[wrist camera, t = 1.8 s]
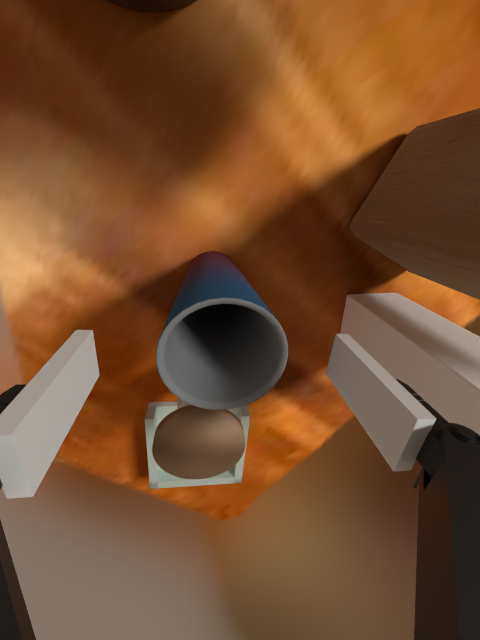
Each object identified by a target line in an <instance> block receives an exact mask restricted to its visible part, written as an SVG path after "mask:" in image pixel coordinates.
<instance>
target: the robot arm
mask: <svg viewBox="0 0 480 640" xmlns="http://www.w3.org/2000/svg"><path fill="white" fill-rule="evenodd" d="M108 1H110V2H112V3H115V4H117V5H119V6H122V7H125V8H129V9H133V10H137V11H145V12H161V11H167V10H172V9H176V8H179V7H181V6H184V5H186V4H188V3H190V2H192V1H194V0H108ZM326 374H327V376H328V377H329V379H330V380H331V382H332V383H333V385H334V386H335V387H336V389H337V390H338V392H339V393H340V395H341V396H342V398H343V399H344V400H345V402H346V403H347V405H348V406H349V408H350V409H351V411H352V412H353V413H354V415H355V416H356V417H357V419H358V421H359V422H360V424H361V425H362V426H363V428H364V429H365V431H366V432H367V434H368V435H369V436H370V438H371V439H372V441H373V442H374V444H375V445H376V446H377V448H378V449H379V451H380V452H381V454H382V455H383V456H384V458H385V460H386V461H387V462H388V464H389V465H390V467H391V468H392V470H393V471H407V470H411V469H412V467H413V465H414V463H415V461H416V460H417V461H418V462H419V463H420V465H421V466H422V469H421V472H420V473H419V475H418V477H417V479H416V481H415V483H414V485H413V487H414V488H416V487H417V485H419V505H418V537H417V539H418V540H417V568H416V569H417V570H416V599H415V630H414V640H480V435H479V434H477V433H476V432H474V431H473V430H471V429H469V428H467V427H465V426H463V425H460V424H456V423H449V422H448V421H447V420H445V419H444V418H443V417H442V416H441V415H440V414H439V413H438V412H437V411H436V410H435V409H434V408H432V407H431V406H430V405H429V404H428V403H427V402H426V401H424V399H423V398H422V397H421V396H420V395H417V393H416V392H415V391H414V390H413V389H412V388H411V387H410V386H409V385H407V384H405V383H404V382H402V381H400V380H399V379H395V378H394V377H392V376H391V375H390V374H389V373H388V372H387V371H386V370H385V369H384V368H383V367H382V366H381V365H380V364H379V363H378V362H377V361H376V360H375V359H374V358H373V357H372V356H371V355H370V354H368V353H367V352H366V351H365V350H364V349H363V348H362V347H361V346H360V345H359V344H358V343H357V342H356V341H355V340H354V339H353V338H352V337H351V336H350V335H349V334H336V335H335V339H334V343H333V347H332V351H331V355H330V359H329V362H328V366H327V370H326ZM98 377H99V368H98V361H97V355H96V348H95V342H94V335H93V330H76V331H75V332H74V333H73V334H72V335H71V336H70V337H69V338H68V340H67V341H66V342H65V343H64V344H63V345H62V346H61V347H60V348H59V350H58V351H57V352H56V353H55V354H54V355H53V356H52V357H51V358H50V360H49V361H48V362H47V363H46V364H45V365H44V366H43V367H42V369H41V370H40V371H39V372H38V373H37V374H36V375H35V376H34V377H33V379H32V380H31V381H30V382H29V383H28V384H27V385H15V386H14V387H12V388H10V389H9V390H7V391H5V392H4V393H2V394H1V395H0V489H1V487H2V488H3V491H4V493H5V495H6V498H21V497H33V496H34V494H35V492H36V490H37V488H38V486H39V484H40V483H41V481H42V479H43V477H44V475H45V474H46V472H47V470H48V468H49V466H50V465H51V463H52V461H53V459H54V457H55V456H56V454H57V452H58V450H59V448H60V446H61V445H62V443H63V441H64V439H65V437H66V435H67V434H68V432H69V430H70V428H71V426H72V425H73V423H74V421H75V419H76V417H77V415H78V414H79V412H80V410H81V408H82V406H83V404H84V403H85V401H86V399H87V397H88V395H89V394H90V392H91V390H92V388H93V386H94V384H95V383H96V381H97V379H98ZM0 640H36V638H35V635H34V631H33V628H32V625H31V621H30V618H29V615H28V611H27V608H26V605H25V601H24V598H23V595H22V591H21V588H20V584H19V581H18V578H17V575H16V571H15V568H14V564H13V561H12V557H11V554H10V551H9V548H8V544H7V541H6V537H5V534H4V531H3V527H2V524H1V521H0Z"/></svg>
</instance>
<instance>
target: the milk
mask: <svg viewBox="0 0 480 640" xmlns="http://www.w3.org/2000/svg"><path fill="white" fill-rule="evenodd" d="M340 334H349V335H350V336H351V337H352V338H353V339H354V340H355V341H356V342H357V343H358V344H359V345H360V346H361V347H362V348H363V349H364V350H365V351H366V352H367V353H368V354H370V355H371V356H372V357H373V358H374V359H375V360H376V361H377V362H378V363H379V364H380V365H381V366H382V367H383V368H384V369H385V370H386V371H387V372H388V373H389V374H390V375H391V376H392V377H394V378H395V379H399V380H400V381H402V382H404V383H405V384H407V385H409V386H410V387H411V388H412V389H413V390H414V391H415V392H416V393H417V395H420V396H421V397H422V398H423V399H424V401H426V402H427V403H428V404H429V405H430V406H431V407H432V408H434V409H435V410H436V411H437V412H438V413H439V414H440V415H441V416H442V417H443V418H444V419H445V420H447V421H448V422H449V423H456V424H460V425H463V426H465V427H467V428H469V429H471V430H473V431H474V432H476V433H477V434H479V435H480V337H479V336H477V335H475V334H473V333H471V332H470V331H467V330H466V329H464V328H462V327H460V326H458V325H456V324H454V323H453V322H451V321H449V320H447V319H445V318H443V317H441V316H439V315H437V314H436V313H434V312H432V311H430V310H428V309H426V308H424V307H422V306H421V305H419V304H417V303H415V302H413V301H411V300H409V299H407V298H405V297H404V296H402V295H400V294H398V293H375V294H349V295H347V298H346V303H345V308H344V314H343V319H342V324H341V330H340Z"/></svg>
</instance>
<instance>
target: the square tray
mask: <svg viewBox="0 0 480 640" xmlns="http://www.w3.org/2000/svg"><path fill="white" fill-rule="evenodd" d="M177 406H178V401H177V402H149V404H148V408H147V412H146V416H145V431H146V443H147V456H148V469H149V481H150V489H154V488H169V487H184V486H198V485H213V484H228V483H241V480H242V472H243V465H244V458H245V450H246V443H247V435H248V428H249V420H250V414H249V409H248V405H244V406H241V407H238V408H233V409H227V410H229V411H230V412H232V413H233V414H234V415H235V416H236V417H237V418H238V419H239V420H240V422H241V424H242V426H243V431H244V436H245V450H244V453H243V455H242V457H241V459H240V460H239V461H238V462H237V463H236V464H235V465H234V466H233V467H232V468H231V469H229V470H227V471H226V472H224V473H222V474H220V475H217V476H214V477H210V478H205V479H184V478H179V477H176V476H173V475H171V474H169V473H167V472H165V471H164V470H163V469H161V468H160V467H159V466H158V464H157V463H156V462H155V460H154V457H153V454H152V445H153V440H154V435H155V431H156V428H157V426H158V425H159V423H160V422H161V421H162V420H163V419H164V418H165V417H166V416H167V415H168V414H170V413H171V412H173V411H175V410H177Z"/></svg>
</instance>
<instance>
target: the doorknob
mask: <svg viewBox="0 0 480 640" xmlns="http://www.w3.org/2000/svg"><path fill="white" fill-rule="evenodd" d="M244 450H245V436H244V431H243V426H242V424H241V422H240V420H239V419H238V418H237V417H236V416H235V415H234V414H233V413H232V412H230V411H229V410H210V409H204V408H199V407H196V406H193V405H190V404H188V403H186V402H184V401H182V400H181V399H179V398H178V406H177V410H175V411H173V412H171V413H170V414H168V415H167V416H166V417H165V418H164V419H163V420H162V421H161V422H160V423H159V425H158V426H157V428H156V431H155V435H154V440H153V445H152V454H153V457H154V460H155V462H156V463H157V464H158V466H159V467H160V468H161V469H163V470H164V471H165V472H167V473H169V474H171V475H173V476H176V477H179V478H184V479H205V478H210V477H214V476H217V475H220V474H222V473H224V472H226V471H227V470H229V469H231V468H232V467H233V466H234V465H235V464H236V463H237V462H238V461H239V460H240V459H241V457H242V455H243V453H244Z"/></svg>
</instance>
